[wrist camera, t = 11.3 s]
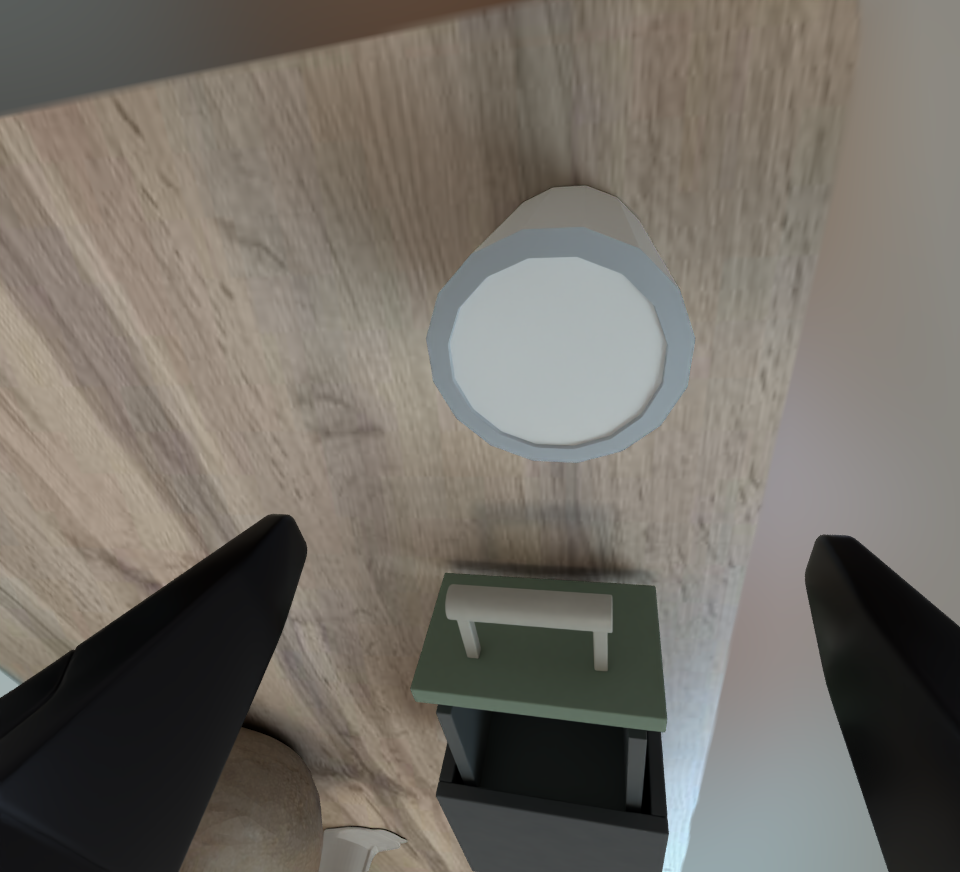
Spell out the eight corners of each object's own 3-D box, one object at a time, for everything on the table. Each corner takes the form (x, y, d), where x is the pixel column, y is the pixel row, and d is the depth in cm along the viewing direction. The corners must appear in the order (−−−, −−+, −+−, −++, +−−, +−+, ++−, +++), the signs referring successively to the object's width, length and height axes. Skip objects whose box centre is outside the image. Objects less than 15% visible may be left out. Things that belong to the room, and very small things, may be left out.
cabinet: (466, 655, 36) (435, 795, 30) (656, 674, 33) (668, 835, 27) (492, 744, 44) (472, 871, 38) (647, 766, 41) (655, 908, 35)
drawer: (427, 512, 27) (383, 629, 22) (660, 520, 24) (675, 656, 19) (477, 686, 37) (455, 795, 32) (646, 706, 34) (653, 828, 29)
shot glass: (451, 195, 18) (385, 265, 13) (659, 135, 16) (686, 189, 11) (502, 365, 22) (468, 476, 16) (676, 336, 20) (703, 453, 14)
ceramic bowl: (273, 792, 65) (200, 960, 53) (118, 706, 56) (-10, 882, 45) (395, 777, 53) (336, 986, 42) (223, 667, 45) (90, 889, 34)
